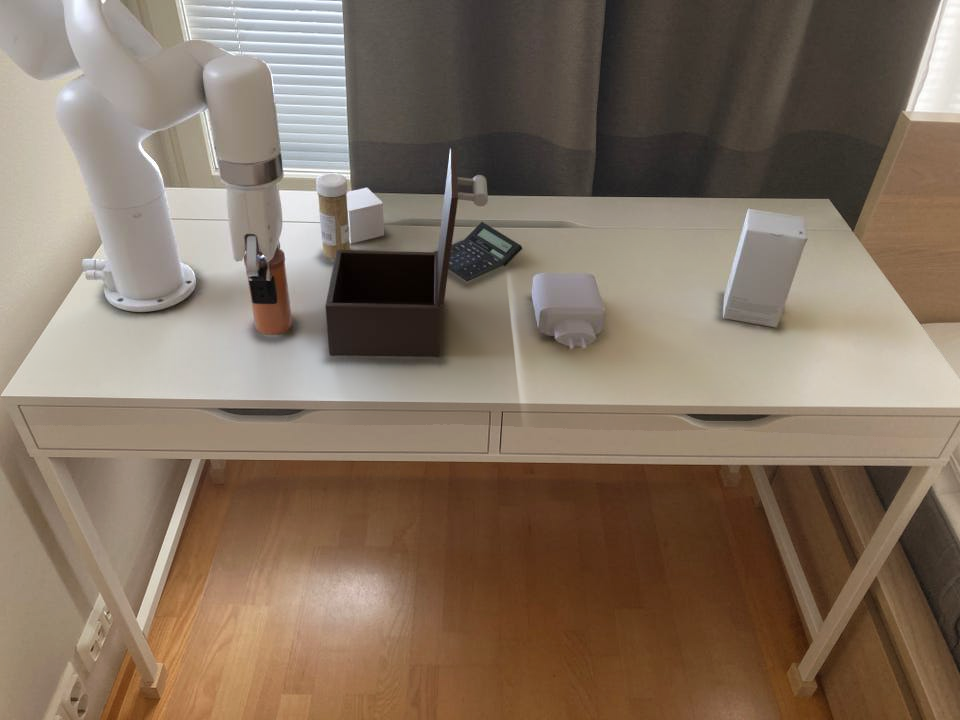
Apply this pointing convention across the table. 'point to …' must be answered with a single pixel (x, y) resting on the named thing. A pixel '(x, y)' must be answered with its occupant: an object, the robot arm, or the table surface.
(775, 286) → the cosmetic box
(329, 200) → the sprinkles bottle
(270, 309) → the tin
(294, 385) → the table surface
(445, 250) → the lid
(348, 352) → the dark wooden planter box
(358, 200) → the white cube
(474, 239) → the calculator
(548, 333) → the charger
